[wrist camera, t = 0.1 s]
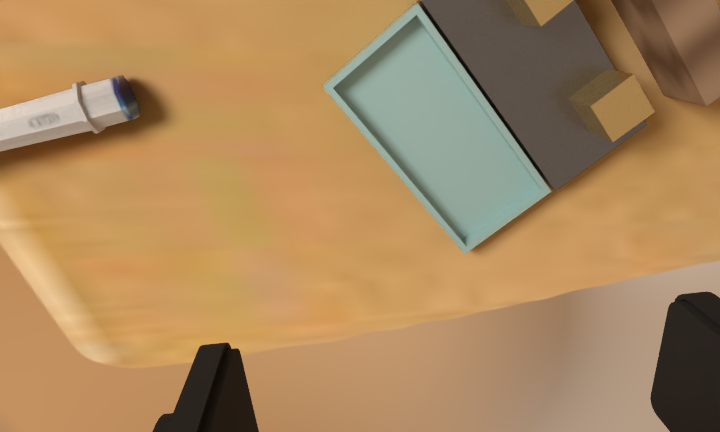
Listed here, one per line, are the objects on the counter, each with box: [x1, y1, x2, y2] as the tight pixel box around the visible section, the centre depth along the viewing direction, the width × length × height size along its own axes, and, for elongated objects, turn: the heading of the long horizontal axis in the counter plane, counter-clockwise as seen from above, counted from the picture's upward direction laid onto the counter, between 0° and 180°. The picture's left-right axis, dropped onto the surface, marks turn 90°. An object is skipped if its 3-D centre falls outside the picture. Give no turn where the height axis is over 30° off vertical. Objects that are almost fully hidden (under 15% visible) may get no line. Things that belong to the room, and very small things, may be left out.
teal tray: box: [323, 4, 552, 254], centre depth 46 cm, size 22×10×2 cm, turn 40°
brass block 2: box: [569, 69, 655, 142], centre depth 42 cm, size 4×4×4 cm
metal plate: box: [417, 0, 647, 191], centre depth 43 cm, size 22×10×2 cm, turn 40°
